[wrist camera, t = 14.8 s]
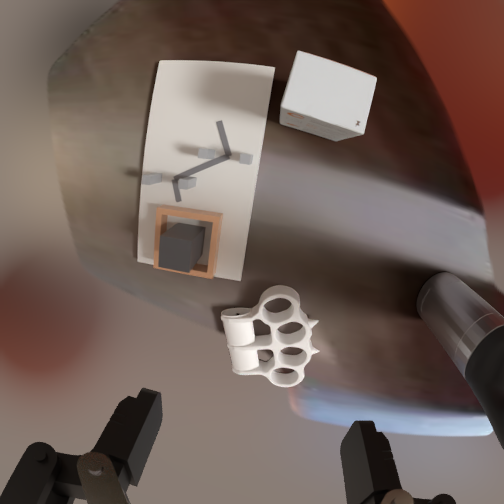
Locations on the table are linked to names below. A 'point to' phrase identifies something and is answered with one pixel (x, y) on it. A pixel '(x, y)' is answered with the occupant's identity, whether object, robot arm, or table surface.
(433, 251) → the table surface
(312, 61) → the small box
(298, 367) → the white brass knuckles
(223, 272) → the board
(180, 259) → the dark grey block
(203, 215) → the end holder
